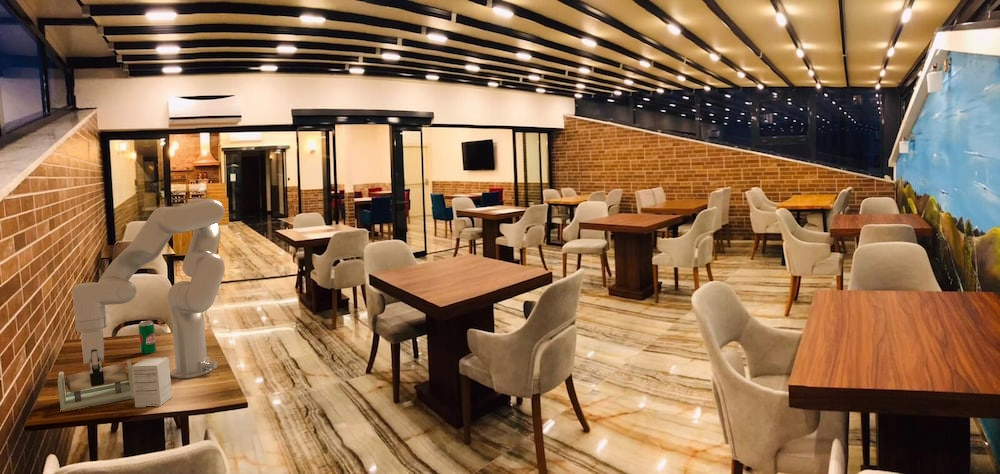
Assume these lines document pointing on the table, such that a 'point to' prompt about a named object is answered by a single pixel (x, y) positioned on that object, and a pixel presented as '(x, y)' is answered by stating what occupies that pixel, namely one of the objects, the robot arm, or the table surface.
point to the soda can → (147, 337)
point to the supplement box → (151, 382)
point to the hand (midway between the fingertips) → (97, 381)
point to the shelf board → (84, 382)
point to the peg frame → (96, 393)
